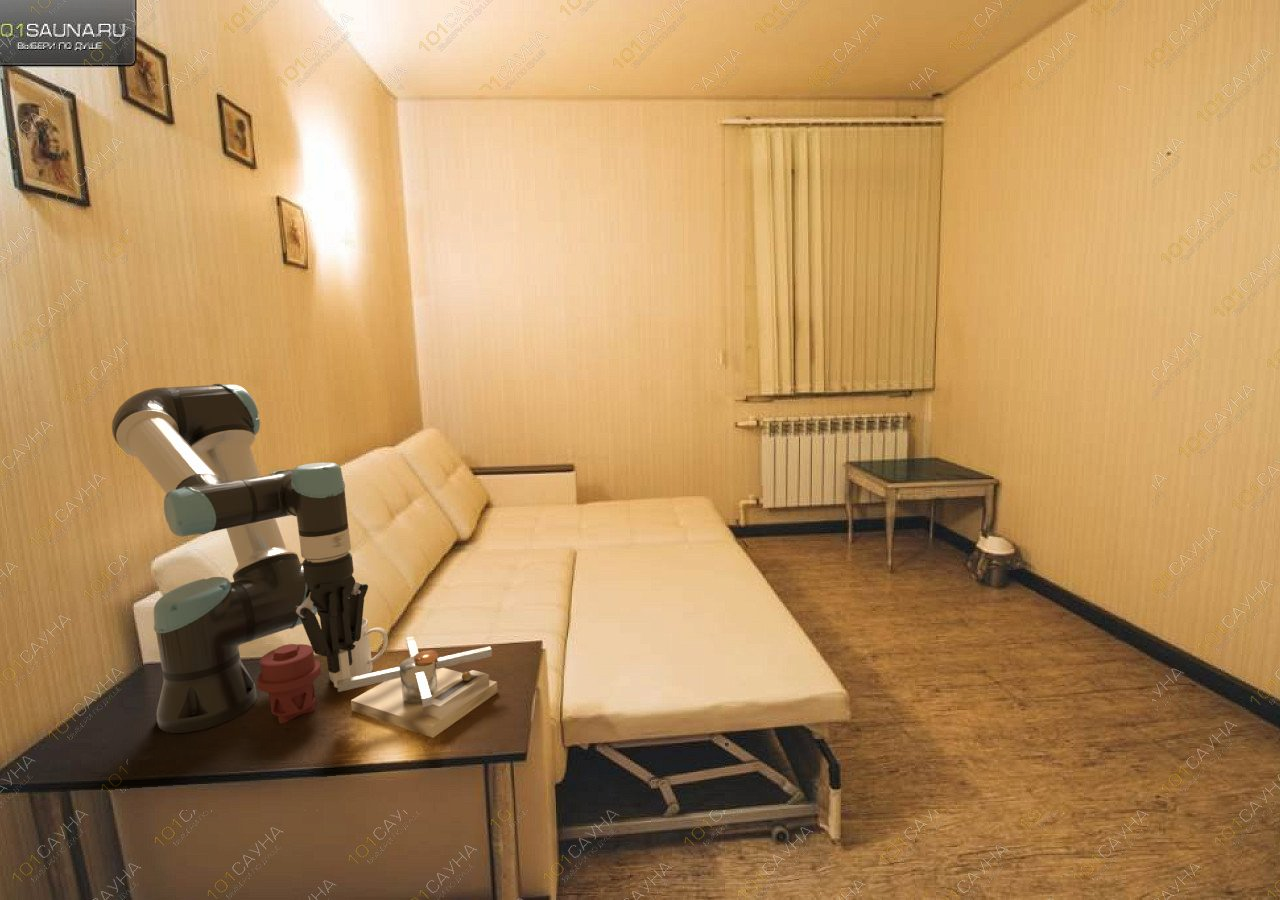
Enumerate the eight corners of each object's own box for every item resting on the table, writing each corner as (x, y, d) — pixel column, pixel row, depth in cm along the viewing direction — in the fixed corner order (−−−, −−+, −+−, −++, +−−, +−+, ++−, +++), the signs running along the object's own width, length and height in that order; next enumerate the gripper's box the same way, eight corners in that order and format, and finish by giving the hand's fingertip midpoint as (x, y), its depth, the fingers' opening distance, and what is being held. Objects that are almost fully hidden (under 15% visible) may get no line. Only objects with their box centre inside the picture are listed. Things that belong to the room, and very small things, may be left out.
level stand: (352, 710, 116) (348, 678, 115) (420, 671, 130) (417, 642, 129) (433, 737, 106) (429, 703, 106) (497, 691, 120) (495, 660, 119)
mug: (321, 684, 126) (315, 633, 125) (344, 665, 134) (338, 616, 132) (380, 685, 125) (375, 633, 123) (400, 665, 133) (395, 617, 131)
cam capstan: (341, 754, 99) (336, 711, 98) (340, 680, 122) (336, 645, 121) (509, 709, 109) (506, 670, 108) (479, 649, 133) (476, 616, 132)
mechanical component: (337, 700, 120) (299, 731, 110) (290, 697, 122) (248, 727, 112) (329, 637, 118) (290, 663, 108) (282, 635, 120) (239, 660, 110)
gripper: (305, 570, 101) (323, 710, 105) (374, 546, 112) (388, 673, 116) (276, 564, 105) (294, 700, 108) (345, 542, 116) (359, 665, 119)
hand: (343, 686), depth 112 cm, fingers closed
